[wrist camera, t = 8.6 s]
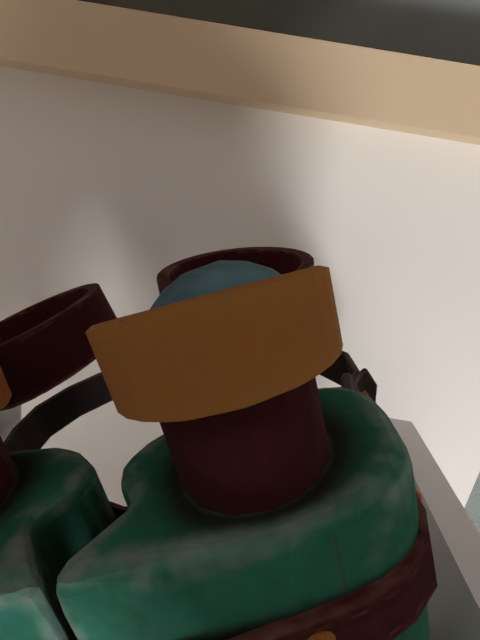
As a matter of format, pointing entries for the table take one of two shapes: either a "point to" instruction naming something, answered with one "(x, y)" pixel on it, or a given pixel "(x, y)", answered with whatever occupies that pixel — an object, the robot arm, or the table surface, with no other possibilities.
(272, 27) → the table surface
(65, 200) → the display riser
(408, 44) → the table surface
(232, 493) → the binoculars
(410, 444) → the robot arm
